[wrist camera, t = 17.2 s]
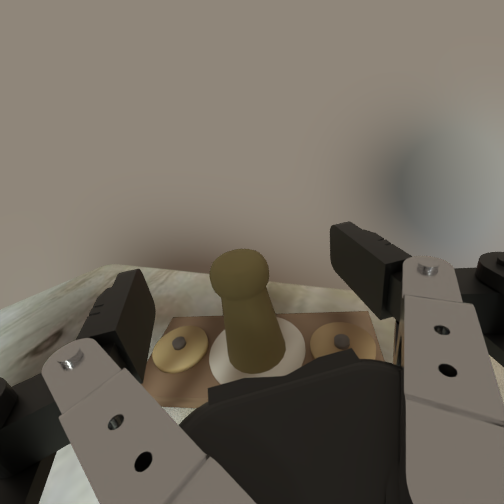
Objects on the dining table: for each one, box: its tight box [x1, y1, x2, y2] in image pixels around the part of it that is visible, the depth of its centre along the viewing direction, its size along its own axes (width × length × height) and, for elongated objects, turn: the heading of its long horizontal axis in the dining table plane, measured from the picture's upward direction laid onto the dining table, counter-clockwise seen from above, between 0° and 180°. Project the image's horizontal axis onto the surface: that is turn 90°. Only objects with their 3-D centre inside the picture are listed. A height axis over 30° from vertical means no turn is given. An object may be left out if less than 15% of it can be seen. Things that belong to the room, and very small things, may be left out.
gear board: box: [141, 311, 384, 408], centre depth 28 cm, size 24×11×3 cm, turn 81°
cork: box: [210, 249, 286, 374], centre depth 26 cm, size 6×6×11 cm
